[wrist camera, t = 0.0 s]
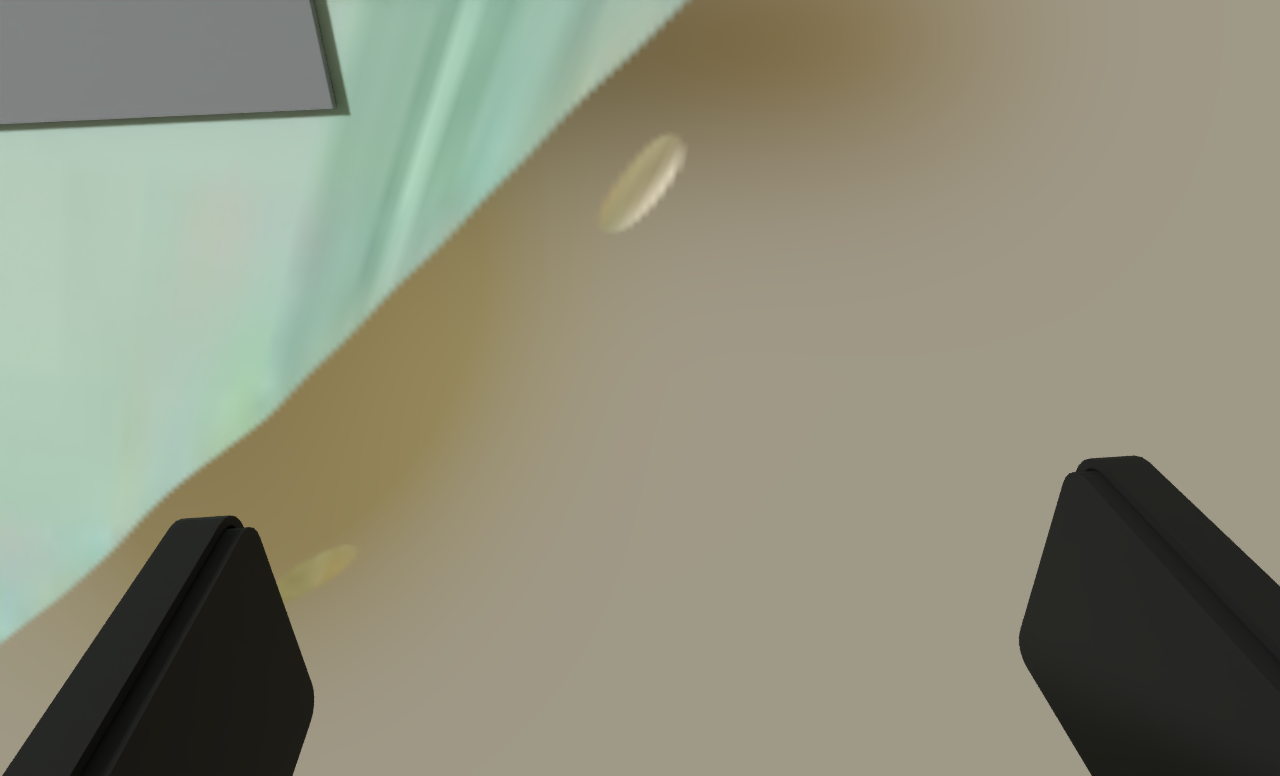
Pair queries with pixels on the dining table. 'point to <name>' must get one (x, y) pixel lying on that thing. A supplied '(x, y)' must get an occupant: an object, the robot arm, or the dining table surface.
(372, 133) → the dining table surface
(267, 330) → the dining table surface
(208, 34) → the rubber mat
